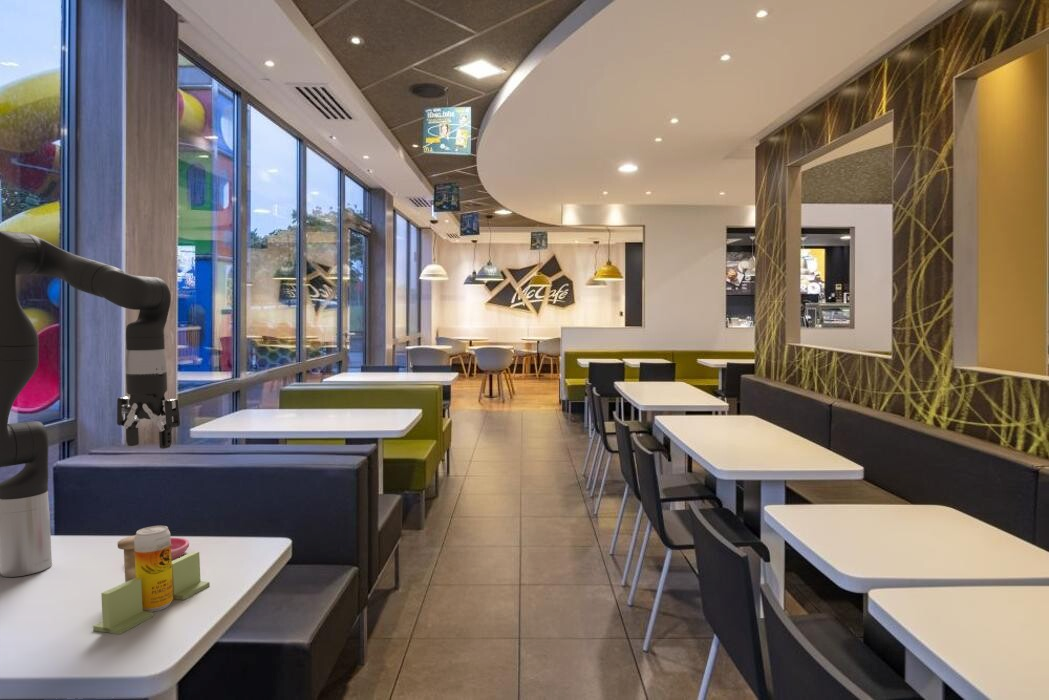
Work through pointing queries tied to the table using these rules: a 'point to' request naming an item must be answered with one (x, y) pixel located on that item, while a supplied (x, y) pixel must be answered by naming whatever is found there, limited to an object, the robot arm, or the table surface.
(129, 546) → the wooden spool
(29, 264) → the robot arm
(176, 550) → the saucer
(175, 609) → the table surface
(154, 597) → the beer can
